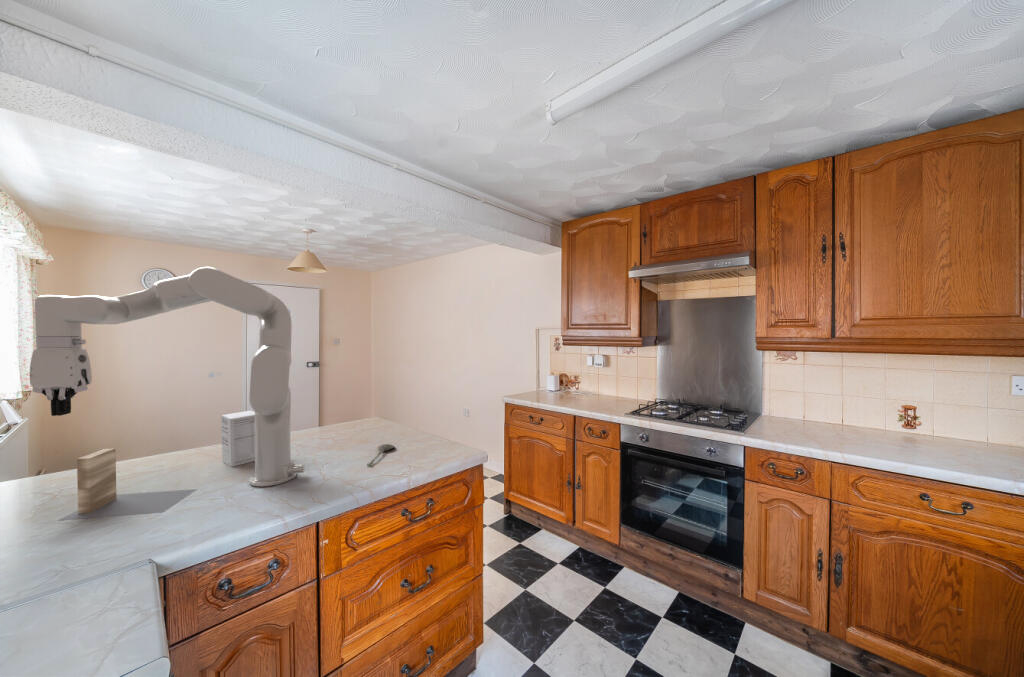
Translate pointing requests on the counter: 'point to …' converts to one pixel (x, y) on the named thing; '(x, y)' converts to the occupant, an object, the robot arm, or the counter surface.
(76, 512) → the rubber mat
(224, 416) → the supplement box
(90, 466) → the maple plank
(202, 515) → the counter surface
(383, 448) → the soupspoon
